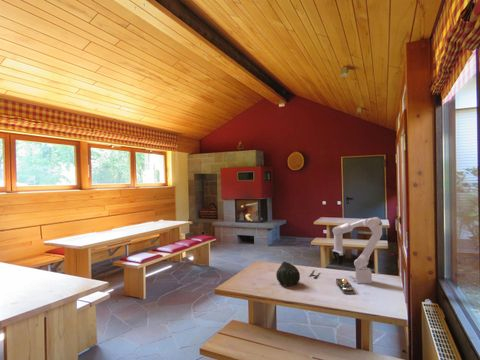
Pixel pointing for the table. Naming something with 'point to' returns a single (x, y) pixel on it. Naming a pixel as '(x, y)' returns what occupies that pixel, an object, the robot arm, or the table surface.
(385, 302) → the table surface
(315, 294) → the table surface
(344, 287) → the brass pin
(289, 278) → the squash
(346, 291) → the chain ends
